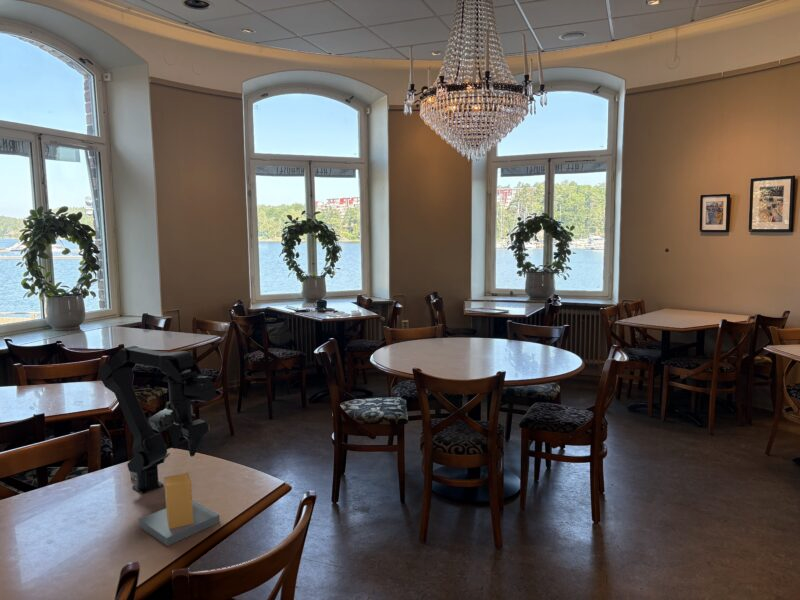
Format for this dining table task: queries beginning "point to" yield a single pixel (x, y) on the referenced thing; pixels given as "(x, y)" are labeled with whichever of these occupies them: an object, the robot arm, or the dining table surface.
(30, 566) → the dining table surface
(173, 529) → the terminal board
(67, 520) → the dining table surface
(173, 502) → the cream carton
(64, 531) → the dining table surface
